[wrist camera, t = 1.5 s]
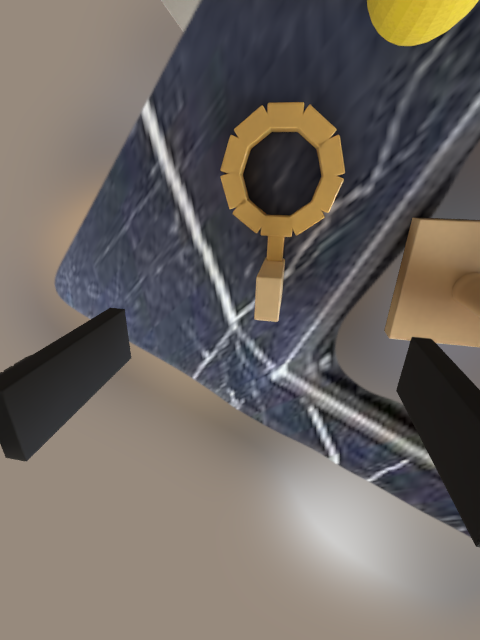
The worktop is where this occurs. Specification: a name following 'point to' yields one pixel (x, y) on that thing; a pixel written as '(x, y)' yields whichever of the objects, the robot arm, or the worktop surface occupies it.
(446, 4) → the lemon
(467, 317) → the peg stand
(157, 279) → the worktop surface
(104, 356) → the robot arm
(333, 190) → the hang ring
